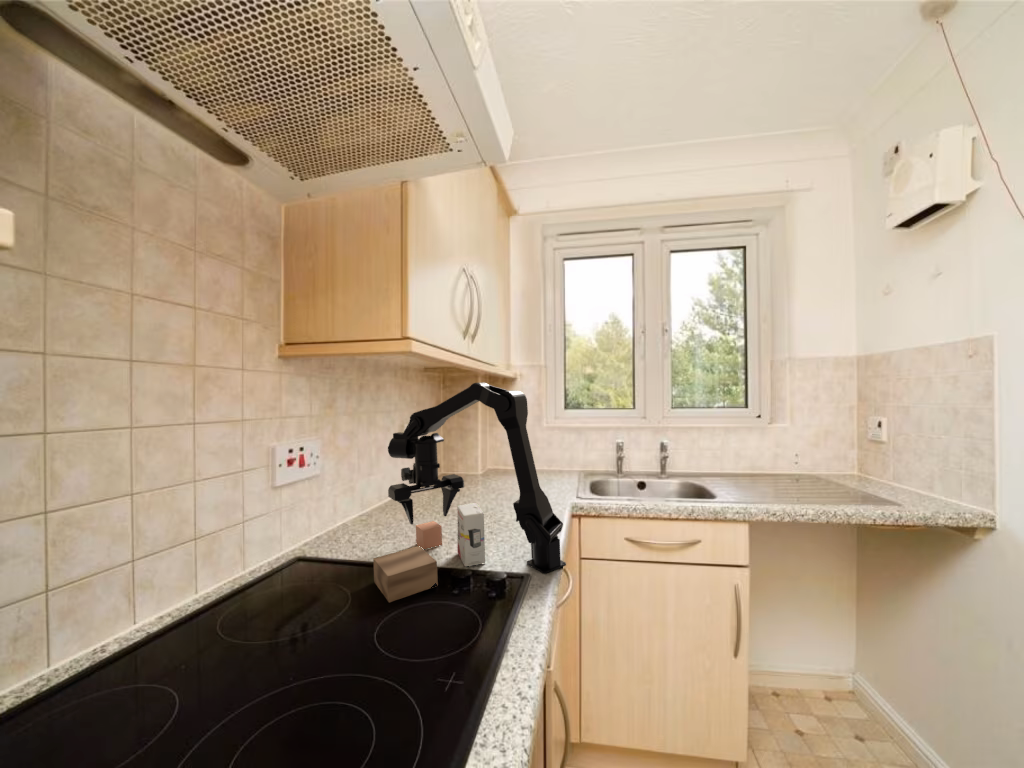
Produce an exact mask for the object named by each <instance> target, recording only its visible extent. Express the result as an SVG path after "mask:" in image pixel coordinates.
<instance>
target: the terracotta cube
mask: <svg viewBox="0 0 1024 768" xmlns="http://www.w3.org/2000/svg"><path fill="white" fill-rule="evenodd" d="M442 528H443V527H442V525H441V524H439V523H438V522H436V521H434V520H432V521H429V522H427V521H426V522H424V523H420V524H415V541H416V542H415V543H417V544H418V545H419V546H420V547H422V548H423V549H427V548H431V547H434V548H436V547H435V546H438V547H440V546H439V545H441V546H443V529H442ZM417 544H416V545H417ZM418 545H417V546H418ZM431 549H432V548H431ZM427 550H428V549H427Z"/></svg>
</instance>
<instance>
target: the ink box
mask: <svg viewBox="0 0 1024 768" xmlns="http://www.w3.org/2000/svg"><path fill="white" fill-rule="evenodd" d="M485 544H486V543H485V513H484V511H483V510H482V509H481V507H480V506H479V505H478V503H476V502H475V503H474V502H473V503H465V504H460V505H457V553H458V556H459V559H460V560H461V562H462V564H463V565H464V567H465V566H469V567H472V566H471V565H476V566H478V565H477V564H482V563H485V564H486V549H485V548H486V545H485ZM482 565H483V564H482Z"/></svg>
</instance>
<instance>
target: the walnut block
mask: <svg viewBox="0 0 1024 768" xmlns="http://www.w3.org/2000/svg"><path fill="white" fill-rule="evenodd" d="M438 579H439V578H438V561H437V560H436V559H435V558H434V557H432V556H431V555H430V554H429V553H428V552H426V550H423V549H422V548H421V547H419V546H418V545H417V546H413V547H409V548H406V549H401V550H399V551H394V552H391V553H389V554H387V553H386V554H384V555H381V556H378V557H374V558H373V582H374V584H375V585H376V586H377V589H379V590H380V593H381V594H382V595H383V597H384V598H385V599H386V601H387V602H388V603H392V602H395V601H398V600H400V599H403V598H406V597H410V596H412V595H416V594H417V593H421V592H424V591H427V590H429V589H432V588H433V587H432V586H433V585H434V584H435V583H436V584H437V586H436V587H438V585H439V582H438ZM431 587H432V588H431Z"/></svg>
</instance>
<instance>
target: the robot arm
mask: <svg viewBox="0 0 1024 768" xmlns="http://www.w3.org/2000/svg"><path fill="white" fill-rule="evenodd" d="M479 402H480V403H482V404H483V405H484V406H487V407H488V408H491V409H493V410H494V412H495V416H496V418H497V420H498V422H499V423H500V424H501V426H502V427H503V429H504V430H505V432H506V436H507V440H508V445H509V446H508V447H509V449H510V454H511V458H512V463H513V467H514V472H515V476H516V480H517V485H518V489H519V498H518V499H517V500H516V501H514V502H513V504H512V505H513V506H512V507H513V509H514V512H515V517H516V518H515V522H516V523H517V522H518V523H519V526H520V528H521V530H522V531H524V533H525V536H526V539H527V542H528V543H529V544H530V548H531V549H530V552H531V559H529V560H527V561H526V565H528V566H530V567H531V566H532V568H533V569H535V570H537V571H538V572H540V573H542V574H549V573H551V572H552V571H553V572H554V571H556V570H558V569H561V568H563V567H566V566H567V562H566V561H564V560H562V559H561V541H560V540H561V539H560V538H559V536H558V534H560V533H561V532H562V530H563V527H564V523H563V522H562V521H561V519H560V518H559V517H558V516H557V514H555V513H554V511H553V508H552V506H551V503H550V500H549V498H548V496H547V495H546V493H545V492H544V491H543V490H542V487H541V486H540V481H539V477H538V473H537V469H536V468H537V467H536V464H535V460H534V455H533V451H532V447H531V443H530V438H529V434H528V429H527V422H528V414H529V410H528V409H529V408H528V398H527V396H526V395H525V393H524V392H522V391H520V390H518V389H514V390H513V389H512V390H508V389H505V388H501V387H497V386H494V385H492V384H488V383H487V382H473V383H472V384H470V385H469V386H468V387H467V388H464V389H463V390H461V391H460V392H458V393H457V394H455V395H453V396H451V397H449V398H447V399H446V400H444V401H443V402H441V403H439V404H437V405H435V406H433V407H430V408H425V409H421V410H419V411H418V410H417V411H415V412H413V413H412V414H411V415H410V416H409V422H408V424H407V425H406V427H405V429H404V431H403V432H393V433H392V438H391V439H390V441H389V444H388V446H387V451H388V454H389V457H391V458H393V459H404V460H405V459H409V460H413V459H414V462H413V463H412V464H413V465H412V469H411V468H410V467H403V468H401V469H400V476H401V481H402V482H403V483H398V484H393V485H392V484H391V485H390V486H389V487H388V490H387V491H388V492H387V493H388V494H387V495H388V496H387V497H389V498H390V499H391V500H393V501H395V502H397V503H399V504H401V506H402V508H403V510H404V512H405V514H406V518H407V519H408V521H409V524H410V525H414V505H413V504H414V502H413V501H414V500H413V498H411V496H412V494H415V493H421V492H426V491H430V490H436V489H441V492H442V513H443V514H442V515H443V517H447V516H448V513H449V510H450V508H451V506H452V504H453V502H454V501H453V500H454V499H455V497H456V495H458V494H457V493H460V491H461V489H463V488H465V480H464V478H463V477H462V476H461V475H458V474H455V473H453V474H447V475H443V476H442V477H441V479H440V478H439V469H440V468H441V466H440V465H441V464H440V463H438V462H439V461H438V460H439V459H438V443H442V442H444V441H445V439H444V438H443V437H442V436H441V435H440V434H439V433H438V432H436V431H438V430H439V429H440V428H441V427H443V426H444V425H445V423H446V422H447V420H449V419H450V418H451V417H453V416H455V415H457V414H459V413H461V412H462V411H464V410H466V409H467V408H469V407H471V406H473V405H475V404H476V403H479ZM430 433H431V434H430ZM429 434H430V435H429ZM405 481H408V484H409V485H408V484H406V483H404V482H405ZM411 484H413V485H411Z"/></svg>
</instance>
